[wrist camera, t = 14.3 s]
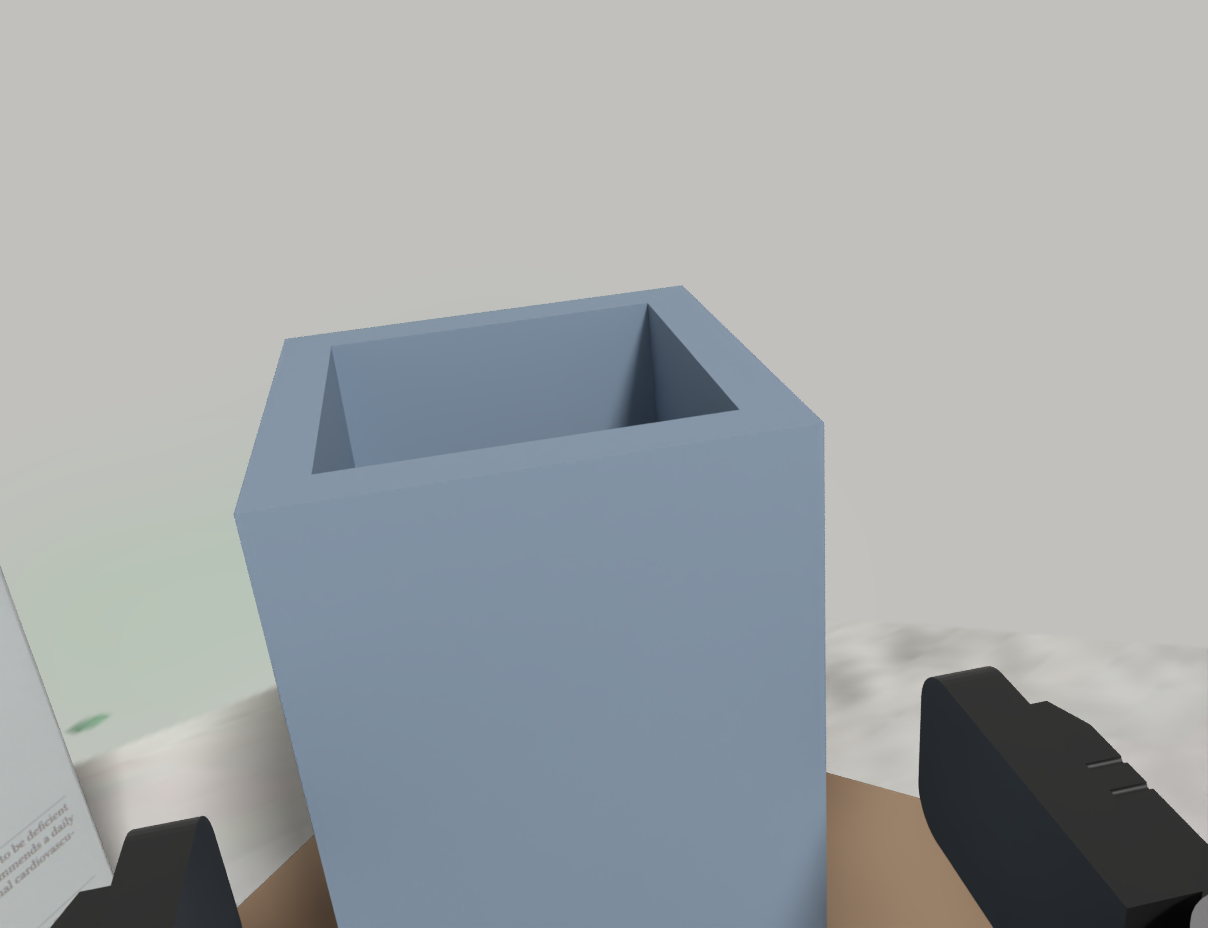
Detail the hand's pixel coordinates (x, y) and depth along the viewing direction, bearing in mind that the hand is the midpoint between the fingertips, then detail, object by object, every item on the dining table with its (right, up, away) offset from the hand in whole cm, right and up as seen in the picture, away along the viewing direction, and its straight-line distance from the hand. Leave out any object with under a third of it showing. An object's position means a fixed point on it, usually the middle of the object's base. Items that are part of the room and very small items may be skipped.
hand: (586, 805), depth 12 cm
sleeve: (0, -6, +6) cm, 9 cm away
